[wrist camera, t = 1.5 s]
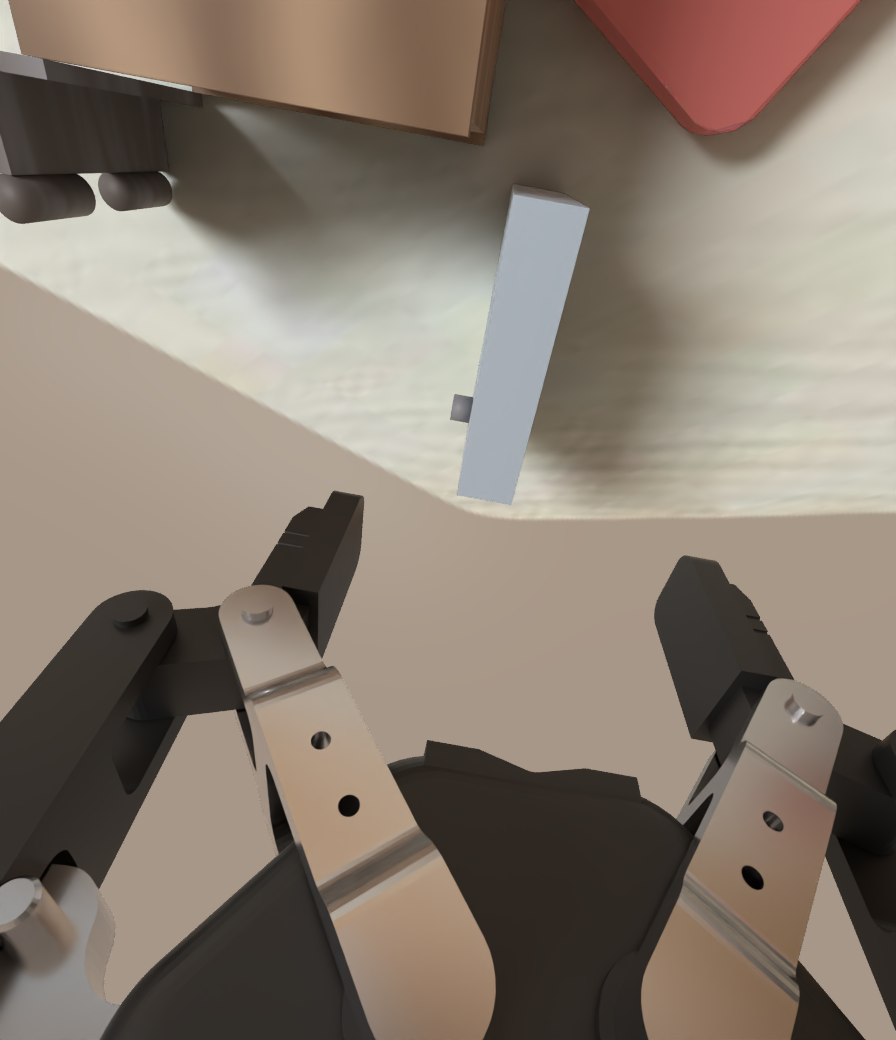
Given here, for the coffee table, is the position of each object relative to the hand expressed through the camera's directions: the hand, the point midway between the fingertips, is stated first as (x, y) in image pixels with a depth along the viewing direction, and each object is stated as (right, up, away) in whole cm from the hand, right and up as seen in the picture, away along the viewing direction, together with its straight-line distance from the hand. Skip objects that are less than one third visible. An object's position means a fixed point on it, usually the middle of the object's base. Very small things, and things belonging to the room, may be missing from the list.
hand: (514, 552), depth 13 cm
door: (+3, +14, +21) cm, 25 cm away
